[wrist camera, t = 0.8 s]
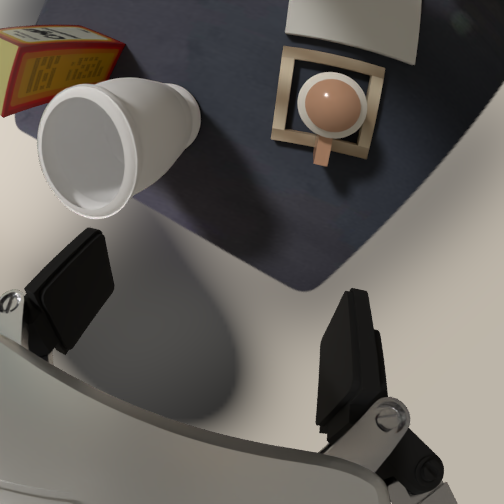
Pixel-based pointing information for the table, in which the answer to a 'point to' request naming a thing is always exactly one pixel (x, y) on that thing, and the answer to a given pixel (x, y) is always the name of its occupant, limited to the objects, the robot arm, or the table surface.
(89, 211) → the jar
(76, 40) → the baking soda box
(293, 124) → the table surface
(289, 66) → the wooden square frame
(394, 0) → the mat
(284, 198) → the table surface
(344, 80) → the cylinder with brown end
